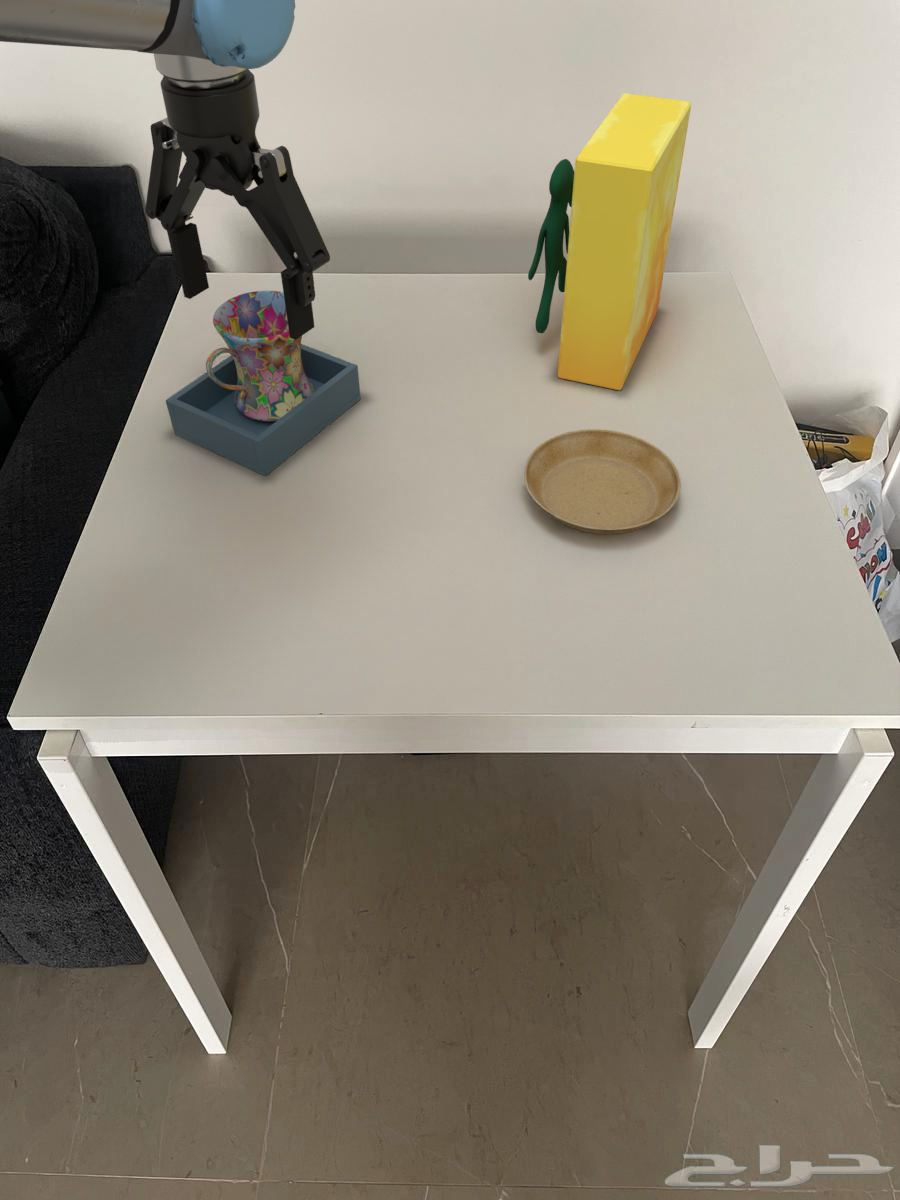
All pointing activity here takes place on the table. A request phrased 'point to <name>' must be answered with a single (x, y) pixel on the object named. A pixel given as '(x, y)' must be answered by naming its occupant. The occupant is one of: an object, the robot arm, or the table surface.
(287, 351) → the mug
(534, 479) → the plant saucer
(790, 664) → the table surface
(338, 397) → the tub
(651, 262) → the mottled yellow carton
